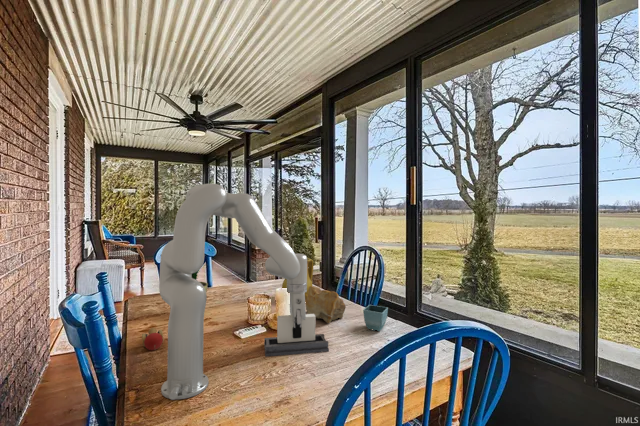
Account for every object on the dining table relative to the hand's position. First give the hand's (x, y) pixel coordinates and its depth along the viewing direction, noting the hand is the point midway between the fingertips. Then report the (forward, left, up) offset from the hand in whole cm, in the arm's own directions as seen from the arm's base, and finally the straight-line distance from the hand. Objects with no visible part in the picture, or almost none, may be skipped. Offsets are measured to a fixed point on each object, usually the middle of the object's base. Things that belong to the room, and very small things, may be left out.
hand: (296, 335), depth 119 cm
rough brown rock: (+30, -20, -5) cm, 36 cm away
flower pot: (+13, -37, -5) cm, 39 cm away
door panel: (0, 0, -2) cm, 2 cm away
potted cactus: (+44, +45, -5) cm, 63 cm away
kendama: (+14, +53, -5) cm, 55 cm away
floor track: (0, 0, -5) cm, 5 cm away
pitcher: (+59, -9, -5) cm, 60 cm away
